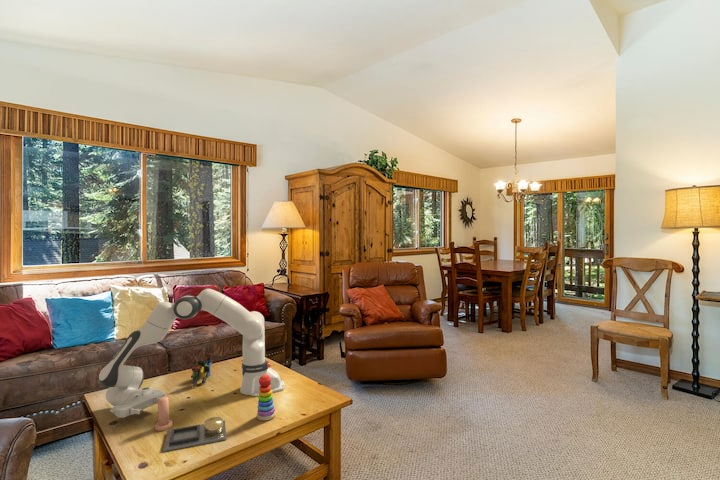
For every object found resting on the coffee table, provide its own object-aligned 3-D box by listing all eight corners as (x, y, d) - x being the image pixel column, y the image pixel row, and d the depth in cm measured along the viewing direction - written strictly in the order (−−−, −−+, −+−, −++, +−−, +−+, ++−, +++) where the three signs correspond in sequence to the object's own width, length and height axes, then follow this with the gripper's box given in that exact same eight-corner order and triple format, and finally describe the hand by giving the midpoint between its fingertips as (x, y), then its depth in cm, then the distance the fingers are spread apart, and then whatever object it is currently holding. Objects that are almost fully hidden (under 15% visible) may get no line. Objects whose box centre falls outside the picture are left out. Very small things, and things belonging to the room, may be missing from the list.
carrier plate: (225, 423, 164) (224, 411, 164) (226, 439, 151) (225, 427, 151) (167, 433, 156) (167, 421, 156) (163, 451, 143) (163, 438, 143)
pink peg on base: (173, 422, 165) (172, 394, 165) (171, 429, 159) (170, 400, 159) (156, 425, 163) (155, 397, 163) (154, 432, 157) (153, 403, 157)
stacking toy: (258, 413, 173) (257, 371, 172) (276, 412, 173) (275, 370, 173) (255, 421, 165) (254, 378, 164) (274, 420, 165) (273, 377, 165)
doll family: (198, 374, 220) (197, 351, 220) (214, 372, 222) (214, 349, 222) (190, 390, 198) (189, 365, 197) (208, 388, 200) (208, 363, 199)
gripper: (107, 403, 163) (126, 410, 156) (153, 385, 181) (172, 391, 174) (108, 417, 163) (126, 425, 156) (154, 398, 181) (172, 405, 174)
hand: (151, 407), depth 165 cm, fingers open, 8 cm apart
